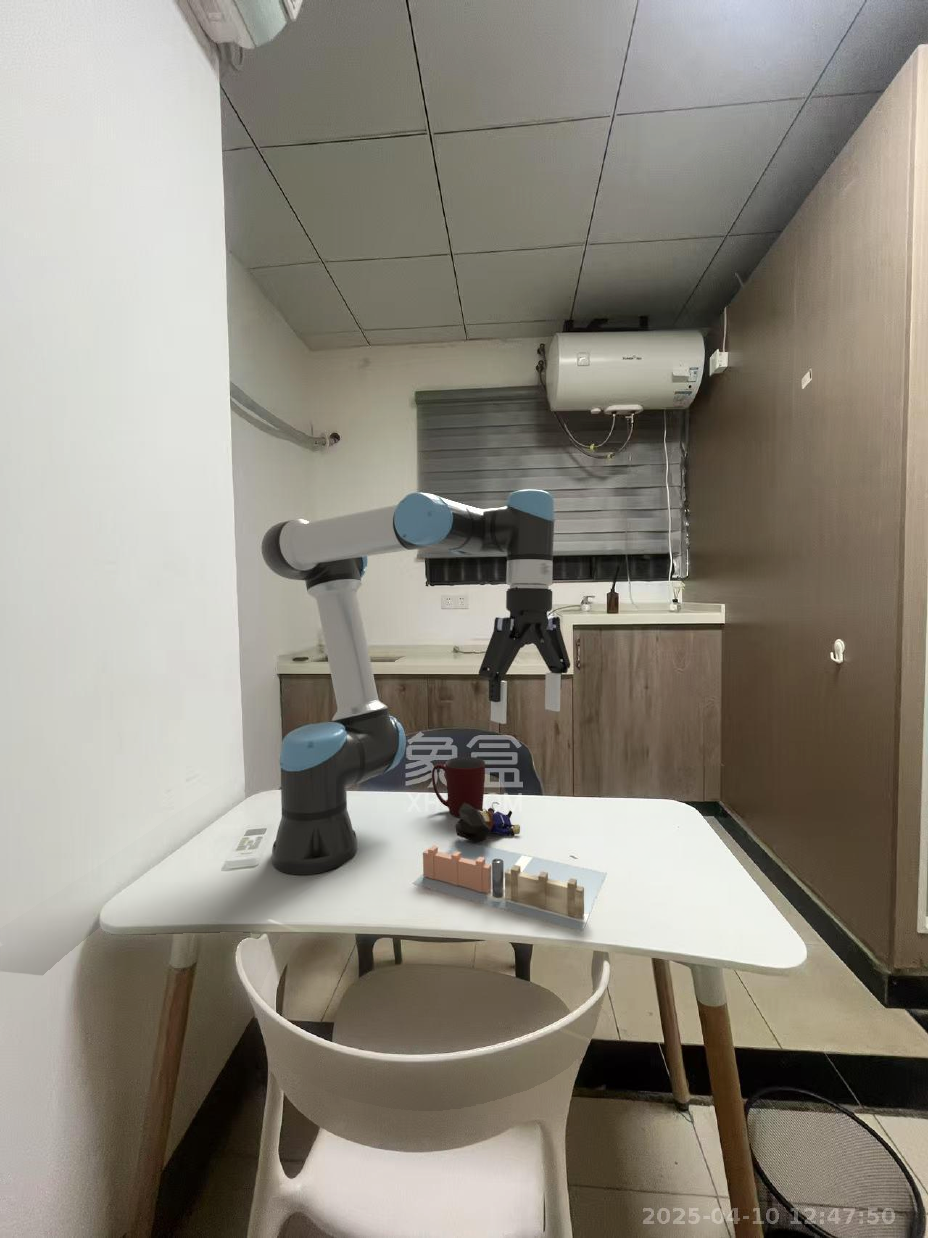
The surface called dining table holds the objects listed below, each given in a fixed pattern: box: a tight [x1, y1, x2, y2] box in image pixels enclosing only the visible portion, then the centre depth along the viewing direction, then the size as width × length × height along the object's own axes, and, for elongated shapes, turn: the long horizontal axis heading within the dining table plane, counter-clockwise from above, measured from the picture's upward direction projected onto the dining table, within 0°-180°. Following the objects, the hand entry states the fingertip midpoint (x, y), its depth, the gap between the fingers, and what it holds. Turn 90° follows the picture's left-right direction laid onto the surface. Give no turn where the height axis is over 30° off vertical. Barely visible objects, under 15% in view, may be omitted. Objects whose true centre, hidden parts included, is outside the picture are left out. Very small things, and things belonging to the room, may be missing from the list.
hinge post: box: [492, 859, 504, 898], centre depth 79 cm, size 2×2×6 cm
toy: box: [455, 801, 521, 844], centre depth 100 cm, size 9×6×15 cm
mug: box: [431, 756, 486, 819], centre depth 112 cm, size 12×9×11 cm
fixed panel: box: [505, 865, 584, 919], centre depth 76 cm, size 12×2×5 cm, turn 63°
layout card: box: [412, 839, 607, 932], centre depth 84 cm, size 28×17×1 cm, turn 63°
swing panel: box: [422, 845, 491, 893], centre depth 82 cm, size 12×2×5 cm, turn 63°
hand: (526, 716), depth 83 cm, fingers open, 13 cm apart
